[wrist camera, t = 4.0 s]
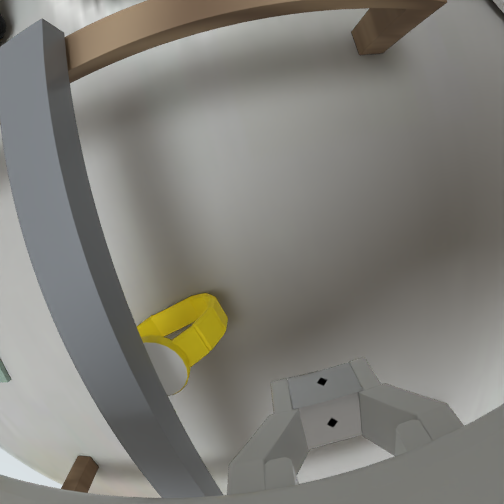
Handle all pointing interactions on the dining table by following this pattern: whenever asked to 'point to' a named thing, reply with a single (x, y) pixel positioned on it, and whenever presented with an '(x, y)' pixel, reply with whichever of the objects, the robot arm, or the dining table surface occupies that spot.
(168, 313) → the watch
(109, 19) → the rail frame
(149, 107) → the dining table surface
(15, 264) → the dining table surface
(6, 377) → the mat
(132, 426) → the bar
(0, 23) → the tape measure
